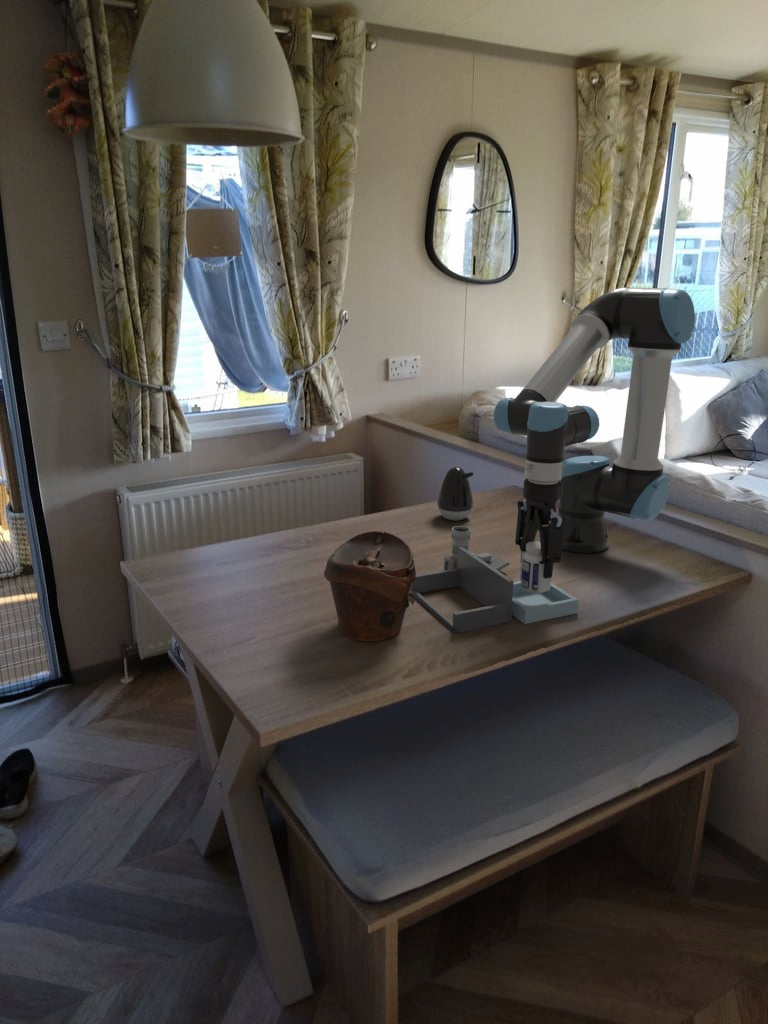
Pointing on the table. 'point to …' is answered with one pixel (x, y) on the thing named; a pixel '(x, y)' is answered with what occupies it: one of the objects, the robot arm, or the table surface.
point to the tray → (541, 604)
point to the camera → (462, 540)
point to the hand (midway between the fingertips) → (534, 584)
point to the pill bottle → (531, 567)
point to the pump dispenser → (455, 495)
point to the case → (371, 585)
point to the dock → (470, 592)
